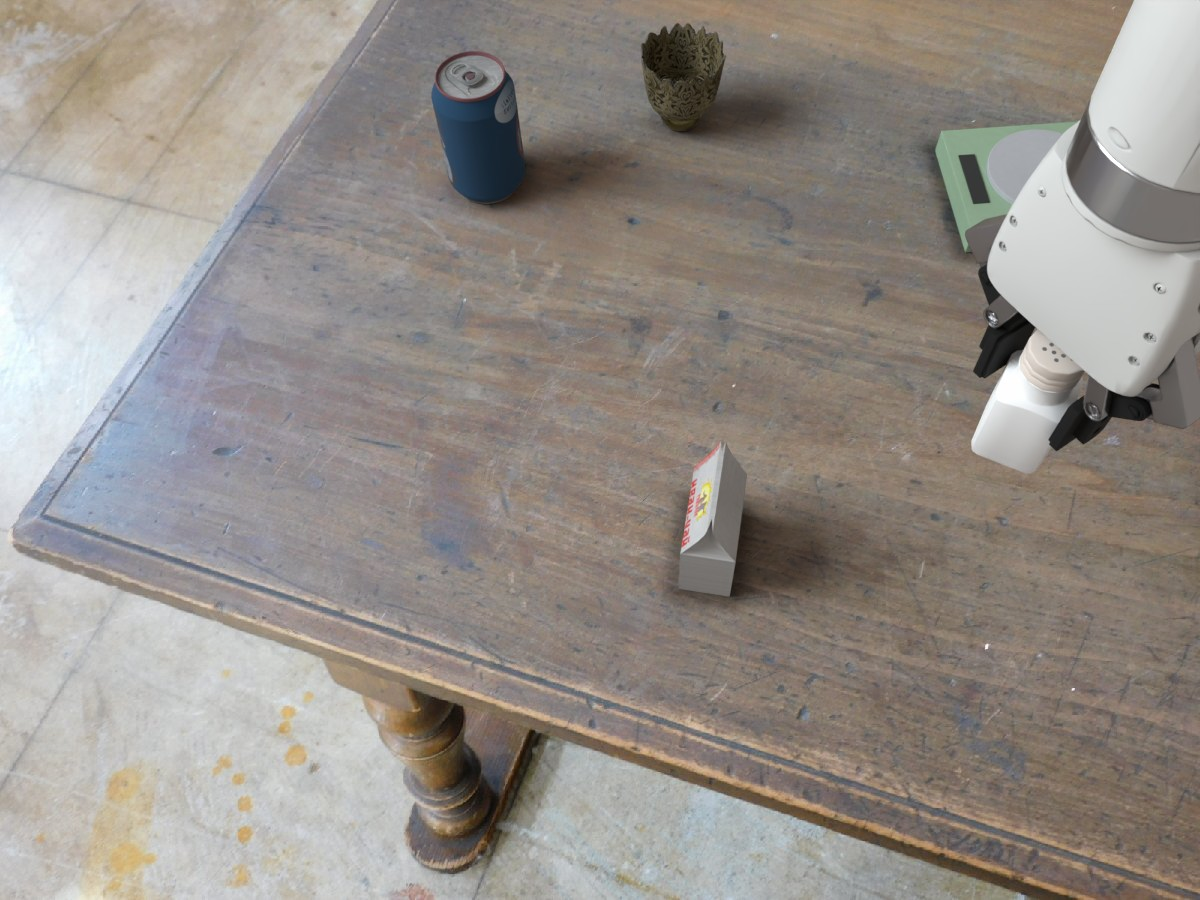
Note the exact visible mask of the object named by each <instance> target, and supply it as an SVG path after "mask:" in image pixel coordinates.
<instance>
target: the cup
mask: <svg viewBox="0 0 1200 900" xmlns="http://www.w3.org/2000/svg"><path fill="white" fill-rule="evenodd" d="M706 32H707V31H706V29H705V26H704V25H701V26H700V27H699V28H698V29H697V32H696V30H695V28H693V26H692V25H691V24H690V23H689V22H687V23H685V24H684V26H682V25H681V24H680V23H679V22H676V23H675V24H674V25H673V26H672V28H671V29H670V31H668V26H666V25H664V26H662V27H661V29H660V32H659V34H657V33H655V32H652V31H650V32H649V33H648V34H647V35H646V38H645V40H644V41H645V42H642V43H641V44H640V53H641V68H642V74H643V75H642V76H643V83H644V88H645V93H646V96H647V99H648V102H649V104H650V106H651V107H652V109H653V110H654V112H656V113H657V114H658V116H660V117H661V120H662V122H663V124H664V125H665V126H666V127H667V128H668V129H670V130H673V131H676V132H685V131H689V130H691V129H693V128H694V127H695V126H696V125H697V124H698V123H699V121H700V119H701V117H702V116H704V115H705V114H706V113H707V112H709V110H710V109H711V107H712V106H713V105H714V102H715V101H716V98H717V95H718V91H719V88H720V84H721V79H722V75H723V70H724V65H725V62H726V58H727V55H726V54H725V53H724V41H723V40H720V37H719V34H718V32H717V31H711V32H708V33H706Z"/></svg>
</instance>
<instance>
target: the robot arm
mask: <svg viewBox="0 0 1200 900" xmlns="http://www.w3.org/2000/svg"><path fill="white" fill-rule="evenodd" d="M1078 121H1079V122H1077V121H1076V122H1077V123H1076V124H1075V125H1073V126H1072V127H1070V128H1069V129H1068V130H1067V131H1065V132H1064V133H1063V135H1062V136H1061V137H1060V138H1059V139H1058V141H1057V142H1056V143H1055V144H1054V145H1053V147H1052V148H1051V149H1050V150H1049V152H1048V153H1047V154H1046V156H1045V157H1044V158H1043V160H1042V161H1041V162H1040V164H1039V165H1038V166H1037V168H1036V169H1035V171H1034V172H1033V174H1032V175H1031V176H1030V178H1029V179H1028V181H1027V182H1026V184H1025V185H1024V187H1023V188H1022V190H1021V191H1020V193H1019V195H1018V196H1017V198H1016V200H1015V202H1014V203H1013V205H1012V206H1011V208H1010V210H1009V212H1008V214H1005V215H1001V216H996V217H992V218H987V219H984V220H983V221H981V222H979V223H978V224H976V225H974V226H973V227H971V228H969V229H968V230H966V232H965V237H966V240H967V242H968V245H969V247H970V249H971V252H970V253H971V254H972V256H973V259H974V261H975V264H976V265H978V264H979V267H980V268H978V270H977V276H978V279H979V281H980V285H981V288H982V290H983V293H984V296H985V299H986V301H987V304H988V306H987V307H985V308H984V309H983V311H982V317H983V319H984V321H985V323H986V324H987V327H986V329H985V332H984V334H983V336H982V339H981V341H980V343H979V346H978V347H979V349H981V352H980V354H979V356H978V358H977V361H976V363H975V365H974V367H973V370H972V372H973V373H974V374H975V375H976V376H977V378H979V379H986V378H989V377H990V376H992V375H993V374H994V373H996V372H997V371H999V370H1001V369H1002V368H1005V366H1006V364H1007V362H1008V360H1009V358H1010V356H1011V354H1013V353H1014V352H1016V351H1018V350H1024V348H1025V346H1026V344H1027V342H1028V340H1029V338H1030V337H1031V336H1032V335H1033V334H1034V332H1035V329H1036V330H1037V329H1038V330H1039V331H1040V332H1041V333H1042V334H1044V335H1045V336H1046V337H1047V338H1048V339H1049V340H1050V341H1051V342H1052V343H1054V344H1055V345H1056V346H1057V347H1058V348H1059V349H1060V350H1061V351H1063V352H1064V353H1065V354H1066V355H1067V356H1068V357H1069V358H1070V359H1071V360H1073V361H1074V362H1075V363H1076V364H1077V365H1078V366H1080V367H1081V368H1082V369H1083V370H1084V371H1085V372H1084V373H1087V378H1086V384H1085V390H1084V395H1082V396H1081V397H1078V399H1077V400H1076V401H1075V402H1073V403H1072V404H1071V405H1070V406H1069V407H1068V409H1067V410H1066V412H1065V413H1064V415H1063V417H1062V418H1061V420H1060V422H1059V423H1058V425H1057V426H1056V428H1055V430H1054V431H1053V433H1052V434H1051V436H1050V438H1049V439H1048V440H1049V441H1050V443H1049V445H1050V446H1051V447H1052V448H1051V449H1052V450H1054V451H1055V452H1058V451H1060V450H1061V449H1063V448H1064V447H1066V446H1067V445H1069V444H1070V443H1072V442H1073V441H1074V440H1077V441H1078V442H1079V443H1080V444H1081V445H1085V444H1087V443H1089V442H1090V441H1091V440H1093V439H1095V438H1096V437H1097V436H1098V435H1099V434H1101V432H1103V431H1104V429H1105V428H1106V427H1107V425H1108V423H1109V422H1110V421H1111V420H1112V419H1113V418H1115V419H1120V420H1121V419H1122V420H1128V421H1134V422H1143V421H1145V420H1146V419H1147V420H1152V421H1153V423H1156V424H1159V425H1164V426H1167V427H1171V428H1176V429H1180V430H1186V429H1188V428H1189V427H1190V426H1191V425H1193V424H1194V423H1196V422H1197V421H1199V420H1200V371H1199V366H1198V361H1197V356H1196V355H1197V354H1198V353H1199V352H1200V0H1133V2H1132V4H1131V6H1130V9H1129V11H1128V13H1127V15H1126V17H1125V19H1124V22H1123V24H1122V26H1121V29H1120V31H1119V33H1118V36H1117V38H1116V40H1115V42H1114V45H1113V47H1112V49H1111V51H1110V54H1109V55H1108V58H1107V60H1106V62H1105V65H1104V66H1103V69H1102V70H1101V73H1100V76H1099V78H1098V80H1097V82H1096V85H1095V86H1094V89H1093V91H1092V93H1091V96H1090V99H1089V101H1088V103H1087V105H1086V107H1085V109H1084V112H1083V114H1082V116H1081V118H1080V120H1078ZM1156 380H1157V381H1158V383H1154V382H1155V381H1156Z"/></svg>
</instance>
